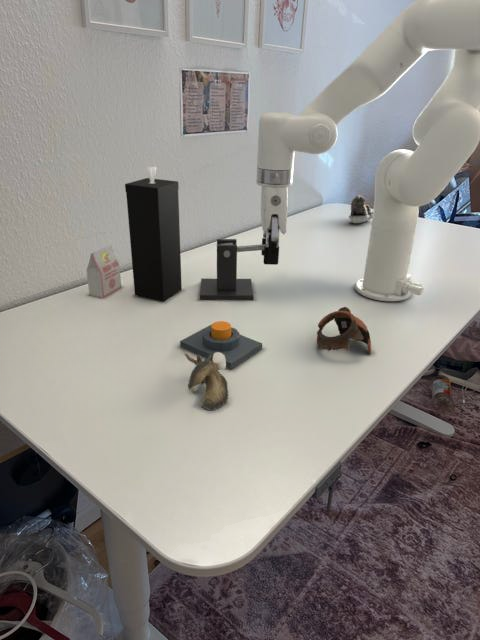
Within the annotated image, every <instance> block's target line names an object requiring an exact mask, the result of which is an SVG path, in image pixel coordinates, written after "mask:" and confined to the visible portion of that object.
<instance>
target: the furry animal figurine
mask: <svg viewBox="0 0 480 640" xmlns="http://www.w3.org/2000/svg"><path fill="white" fill-rule="evenodd" d="M184 356H185V358H186V359H187V360H188V361H189V362H191V363H192V364H194V365H195V366H194V368H193V369H192V371H191V373H190V376H189V380H188V384H187V388H188V390H191V389H192V393H194V392H195V391H199V389H200V388H201V387H202V386H203V385H204V384H205V391H204V395H203V398H202V400H201V404H200V406H201V407H203V409H204V410H205V409H207V411H213V412H214V411H215V410H218V409H219V408H221V407H223V406H224V405H225V404H226V403H227V401H228V398H229V390H228V381H227V379H226V377H225V376H224V375H223V374H222V373H221V372H220V371H223V370H225V369H226V359H225V355H223V354H222V353H220V352H215V353H214V354H213V358H212V361H210V358H211V355H209V357H208V359H206V358H205V359H204V360H202V357H201V356H200V355H197V356H196V359H195V358H193V357H192V356H190V355H189V354H188V353H186V352H184Z"/></svg>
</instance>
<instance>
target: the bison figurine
mask: <svg viewBox="0 0 480 640" xmlns="http://www.w3.org/2000/svg"><path fill="white" fill-rule="evenodd" d="M365 201H366V199H365V195H356V196H355V197H354V198H353V199H352V200H351V203H350V214H349V215H348V219H349V220H350V222H352V223H353V224H361V223H365V222H366V221H371V220H372V218H373V210H371V207H370V205H368V204H366V202H365Z"/></svg>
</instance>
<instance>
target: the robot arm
mask: <svg viewBox="0 0 480 640" xmlns="http://www.w3.org/2000/svg"><path fill="white" fill-rule="evenodd" d="M447 50H448V51H453V50H454V59H453V64H452V67H451V69H450V70H449V73H448V74H447V76H445V78H444V81H443V82H442V84H441V85H440V86H439V87H438V89H437V90H436V92H435V93H434V94H433V96H432V97H431V98H430V100H429V101H428V103H427V104H426V105H425V106H424V108H423V109H422V110H421V112H420V113H419V115H418V116H417V118H416V119H415V121H414V124H413V127H412V139H413V141H414V143H415V144H416V145H417V147H416V149H415V150H414V151H413V150H410V149H404V148H403V149H396V150H393V151H391V152H389V153H387V154H386V155H385V156H384V157H383V158H382V159H381V160H380V161H379V164H378V166H377V168H376V171H375V177H374V199H373V201H374V202H373V210H372V212H373V218H371V223H370V226H371V227H370V232H369V238H368V245H367V252H366V259H365V264H364V273H363V278H360V279H358V280H357V281H356V283H355V291H356V292H357V293H358V294H360V295H361V296H363V297H365V298H368V299H370V300H375V301H379V302H401V301H405V300H407V299H409V298H410V297H411V295H416V296H420V297H422V295H423V293H424V287H423V286H422V283H419V282H413V281H412V280H411V278H412V275H411V274H410V273H409V268H410V267H409V266H410V263H411V256H412V253H413V252H412V251H413V246H414V240H415V236H416V229H417V225H418V221H419V220H418V219H419V210H420V207H422V206H425V205H428V204H429V203H431V202H433V201H434V200H435V199H436V198H437V197H438V196H440V194H441V193H442V192H443V191H444V190H445V188H446V187H447V186H448V185H449V183H450V182H451V181H452V180H453V179H454V177H456V175H457V174H458V172H459V171H460V170H461V168H462V167H463V166H464V164H465V163H466V162H467V161H468V160H469V158H470V157H471V156H472V154H474V152H475V150H476V149H477V148H478V145H479V144H480V112H479V110H478V108H479V107H480V0H415V1H413V2H411V3H410V4H409V5H408V6H406V7H404V9H403V10H402V11H401V12H400V13H399V14H398V15H397V16H396V17H395V18H394V19H393V20H392V21H391V22H390V23H389V25H388V26H386V28H384V30H382V31H381V33H380V34H379V35H378V36H377V37H376V38H375V39H374V40H373V41H372V42H371V43H370V44H369V45H368V46H367V47H366V48H365V49H364V50H363V51H362V52H361V54H359V56H357V57H356V58H355V59H354V60H353V61H352V62H351V63H350V64H349V65H347V67H345V69H343V70H342V72H340V73H339V75H337V77H335V78H334V79H332V81H331V82H330V83H328V84H327V85H326V86H325V87H324V88H323V89H322V90H321V91H320V92H319V93H318V94H317V95H316V96H315V97H314V98H313V99H312V100H311V102H309V104H307V106H305V108H304V109H303V110H301V112H300V113H299V114H298V115H294V114H293V113H290V112H280V111H279V112H277V111H269V112H268V111H267V112H264V113H262V114H261V115H260V116H259V121H258V136H257V137H258V139H257V162H256V180H255V181H256V185H258V186H261V191H260V192H261V193H260V223H261V224H260V225H261V228H262V238H261V244H266V246H264V250H261V256H263V265H268V266H269V265H272V266H273V265H274V266H275V265H277V266H278V264H279V258H280V233H281V234H282V235H285V234H287V230H288V228H287V227H288V205H289V202H288V201H289V199H288V198H289V194H288V193H289V191H288V190H289V189H288V188H289V187H291V186H293V178H294V177H293V176H294V167H295V165H294V164H295V153H296V152H298V153H303V154H308V155H309V154H310V155H323V154H325V153H327V152H329V151H330V150H331V149H332V148H333V147H334V146H335V145H336V142H337V140H338V134H339V132H338V127H337V126H338V125H339V124H340V123H341V122H342V121H343V120H344V119H345V118H347V117H348V116H349V115H350V114H352V113H353V112H354V111H356V110H357V109H359V108H361V107H362V106H365V105H367V104H369V103H371V102H373V101H375V100H377V99H379V98H381V97H382V96H383V95H385V94H386V93H387V92H388V91H389V90H390V89H391V88H392V87H393V86H394V85H395V84H396V83H397V82H398V81H399V80H400V79H401V78H402V77H403V76H404V75H405V74H406V73H407V72H408V71H409V70H410V69H411V68H412V67H414V65H415V64H416V63H418V62H419V60H421V58H422V57H423V56H424V55H426V54H427V52H429V51H447ZM408 273H409V274H408Z"/></svg>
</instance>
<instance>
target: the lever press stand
mask: <svg viewBox="0 0 480 640" xmlns="http://www.w3.org/2000/svg"><path fill="white" fill-rule="evenodd" d="M226 243H233V245H230V244H226ZM237 243H238V242H237V238H217V239H216V278H208V277H207V278H205V277H204V278H203V277H201V278H200V288H199V301H254V288H253V282H252V278H238V277H237V276H238V275H237V273H238V272H237V271H238V269H237V268H238V252H237V246H238V245H237Z"/></svg>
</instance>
